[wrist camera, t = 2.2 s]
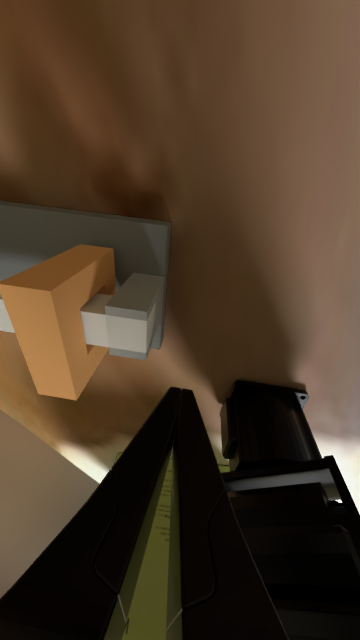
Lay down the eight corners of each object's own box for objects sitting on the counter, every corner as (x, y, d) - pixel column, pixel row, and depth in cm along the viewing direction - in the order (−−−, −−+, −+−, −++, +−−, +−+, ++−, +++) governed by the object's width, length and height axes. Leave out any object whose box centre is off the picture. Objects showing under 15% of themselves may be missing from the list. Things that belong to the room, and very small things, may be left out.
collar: (113, 248, 13) (50, 291, 8) (118, 331, 16) (76, 400, 11) (80, 244, 13) (-4, 283, 8) (92, 327, 16) (38, 394, 11)
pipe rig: (171, 222, 14) (147, 245, 8) (163, 338, 18) (144, 398, 13) (-128, 184, 15) (-313, 185, 9) (-61, 304, 19) (-159, 348, 14)
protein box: (116, 451, 30) (41, 664, 16) (233, 465, 28) (253, 714, 15) (127, 486, 35) (77, 666, 22) (225, 499, 33) (235, 703, 20)
